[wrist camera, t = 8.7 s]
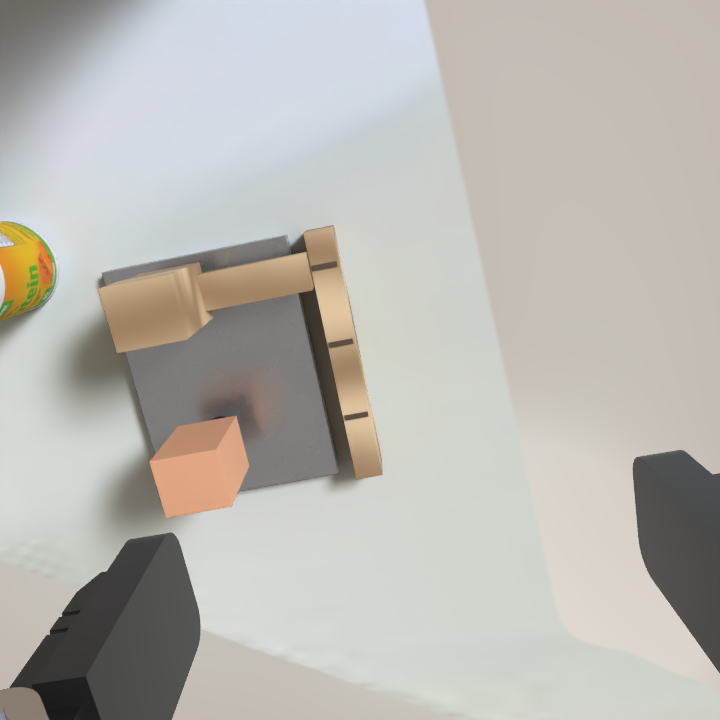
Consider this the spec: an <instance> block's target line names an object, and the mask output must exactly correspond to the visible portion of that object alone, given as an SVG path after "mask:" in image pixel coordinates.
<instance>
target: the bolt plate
mask: <svg viewBox="0 0 720 720" xmlns="http://www.w3.org/2000/svg"><path fill="white" fill-rule="evenodd" d="M287 255H292V254H291V249H290V245H289V240H288V236H287V235H283V236H278V237H273V238H268V239H263V240H258V241H253V242H249V243H244V244H239V245H234V246H229V247H224V248H219V249H214V250H209V251H204V252H199V253H194V254H189V255H184V256H179V257H175V258H170V259H165V260H160V261H155V262H150V263H145V264H140V265H135V266H130V267H125V268H120V269H115V270H110V271H106V272H103V273H102V275H103V279H104V282H105V285H106V286H107V285H110V284H113V283H116V282H118V281H121V280H124V279H127V278H130V277H132V276H135V275H138V274H142V273H147V272H152V271H157V270H162V269H167V268H172V267H177V266H182V265H187V264H192V263H197V262H199V263H200V267H201V271H202V273H203V272H208V271H213V270H218V269H223V268H228V267H233V266H238V265H243V264H248V263H253V262H258V261H262V260H267V259H272V258H277V257H282V256H287ZM212 314H213V319H212V320H210V321H209V322H208V323H207V324H205V325H204V326H203V327H202V328H201V329H199V330H198V331H197V332H196V333H194V334H193V335H192V336H191V337H189V338H188V339H187V340H183V341H178V342H173V343H168V344H162V345H157V346H152V347H147V348H142V349H137V350H132V351H126V352H125V353H126V357H127V360H128V364H129V367H130V370H131V374H132V377H133V381H134V384H135V388H136V391H137V394H138V398H139V401H140V405H141V408H142V411H143V415H144V418H145V422H146V425H147V428H148V432H149V435H150V439H151V442H152V445H153V449H154V452H155V454H156V453H157V452H158V450H159V449H160V448H161V447H162V445H163V444H164V443H165V442H166V440H167V439H168V438H169V437H170V436H171V434H172V433H173V432H174V431H175V429H176V428H177V427H178V426H182V425H188V424H193V423H198V422H204V421H209V420H214V419H220V418H225V417H231V416H237V420H238V424H239V428H240V432H241V436H242V440H243V443H244V447H245V451H246V455H247V459H248V463H249V468H248V470H247V472H246V475H245V477H244V479H243V482H242V484H241V486H240V488H239V491H243V490H248V489H254V488H260V487H265V486H271V485H276V484H282V483H287V482H293V481H299V480H304V479H310V478H315V477H321V476H326V475H332V474H338V471H339V465H338V461H337V456H336V452H335V447H334V443H333V438H332V434H331V429H330V425H329V420H328V416H327V411H326V407H325V402H324V398H323V393H322V389H321V384H320V380H319V375H318V371H317V366H316V362H315V357H314V353H313V348H312V344H311V339H310V335H309V330H308V326H307V321H306V317H305V312H304V308H303V303H302V299H301V294H300V293H296V294H291V295H286V296H281V297H276V298H271V299H266V300H261V301H256V302H250V303H245V304H240V305H235V306H230V307H225V308H220V309H215V310H212Z"/></svg>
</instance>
